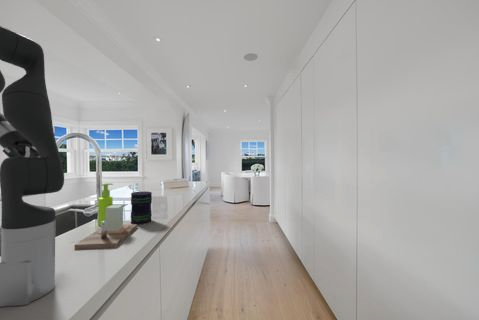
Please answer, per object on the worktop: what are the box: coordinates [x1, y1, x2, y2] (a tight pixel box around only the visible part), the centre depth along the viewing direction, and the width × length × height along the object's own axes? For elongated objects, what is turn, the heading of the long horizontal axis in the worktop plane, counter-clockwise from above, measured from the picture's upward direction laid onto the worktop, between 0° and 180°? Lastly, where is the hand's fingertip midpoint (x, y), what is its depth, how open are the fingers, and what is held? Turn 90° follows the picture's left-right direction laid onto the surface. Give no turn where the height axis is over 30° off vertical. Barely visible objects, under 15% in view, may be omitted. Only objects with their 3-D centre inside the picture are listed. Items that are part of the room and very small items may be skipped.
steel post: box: [100, 221, 107, 239], centre depth 81 cm, size 2×2×6 cm
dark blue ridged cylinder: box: [130, 191, 153, 226], centre depth 107 cm, size 10×10×15 cm
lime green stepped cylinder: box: [97, 182, 114, 227], centre depth 102 cm, size 6×7×20 cm
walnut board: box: [73, 223, 138, 250], centre depth 86 cm, size 22×14×2 cm, turn 8°
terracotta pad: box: [98, 226, 129, 234], centre depth 90 cm, size 9×9×1 cm
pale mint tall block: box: [106, 204, 124, 231], centre depth 90 cm, size 5×5×10 cm
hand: (45, 169), depth 75 cm, fingers open, 8 cm apart
